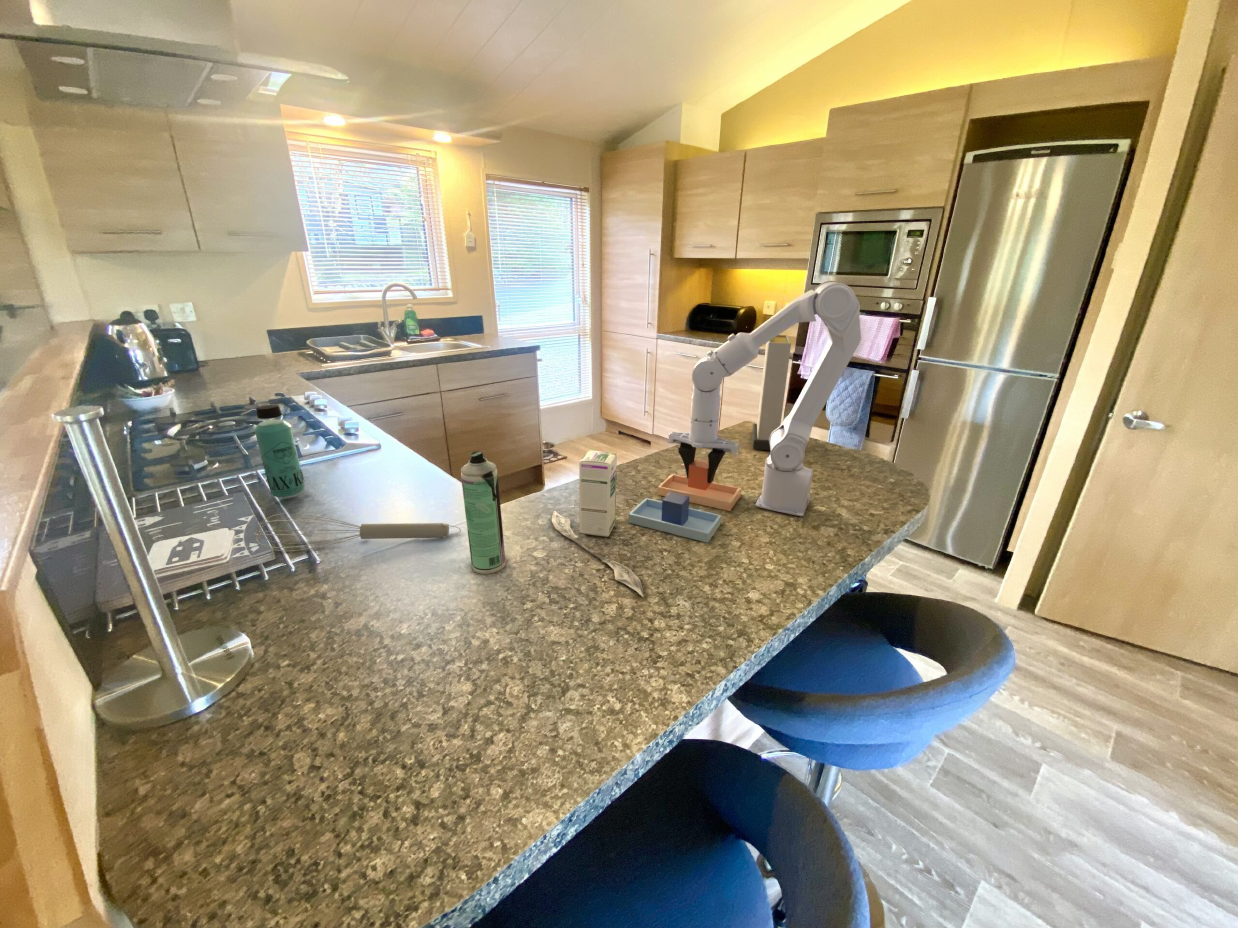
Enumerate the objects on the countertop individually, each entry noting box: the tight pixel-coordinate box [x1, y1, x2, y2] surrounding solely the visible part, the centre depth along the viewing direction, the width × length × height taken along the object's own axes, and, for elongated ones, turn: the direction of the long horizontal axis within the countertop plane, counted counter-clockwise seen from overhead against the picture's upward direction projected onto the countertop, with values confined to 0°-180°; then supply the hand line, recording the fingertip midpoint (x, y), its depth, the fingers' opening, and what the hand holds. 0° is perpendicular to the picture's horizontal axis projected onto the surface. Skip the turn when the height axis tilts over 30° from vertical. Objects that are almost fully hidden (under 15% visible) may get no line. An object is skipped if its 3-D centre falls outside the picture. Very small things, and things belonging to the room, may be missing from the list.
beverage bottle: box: [253, 403, 306, 498], centre depth 105 cm, size 6×7×20 cm
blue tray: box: [628, 497, 723, 544], centre depth 99 cm, size 16×8×2 cm, turn 62°
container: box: [752, 334, 792, 452], centre depth 138 cm, size 7×18×30 cm, turn 167°
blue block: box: [661, 492, 690, 526], centre depth 99 cm, size 4×4×5 cm
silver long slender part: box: [551, 510, 644, 598], centre depth 90 cm, size 32×1×5 cm
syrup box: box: [578, 450, 618, 538], centre depth 95 cm, size 6×6×14 cm
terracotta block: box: [688, 458, 712, 491], centre depth 109 cm, size 4×4×5 cm
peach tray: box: [657, 473, 742, 512], centre depth 111 cm, size 16×8×2 cm, turn 62°
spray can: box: [460, 450, 506, 575], centre depth 82 cm, size 6×6×20 cm
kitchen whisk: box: [253, 513, 462, 552], centre depth 91 cm, size 6×34×6 cm, turn 99°
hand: (700, 479), depth 110 cm, fingers closed on terracotta block, 4 cm apart
